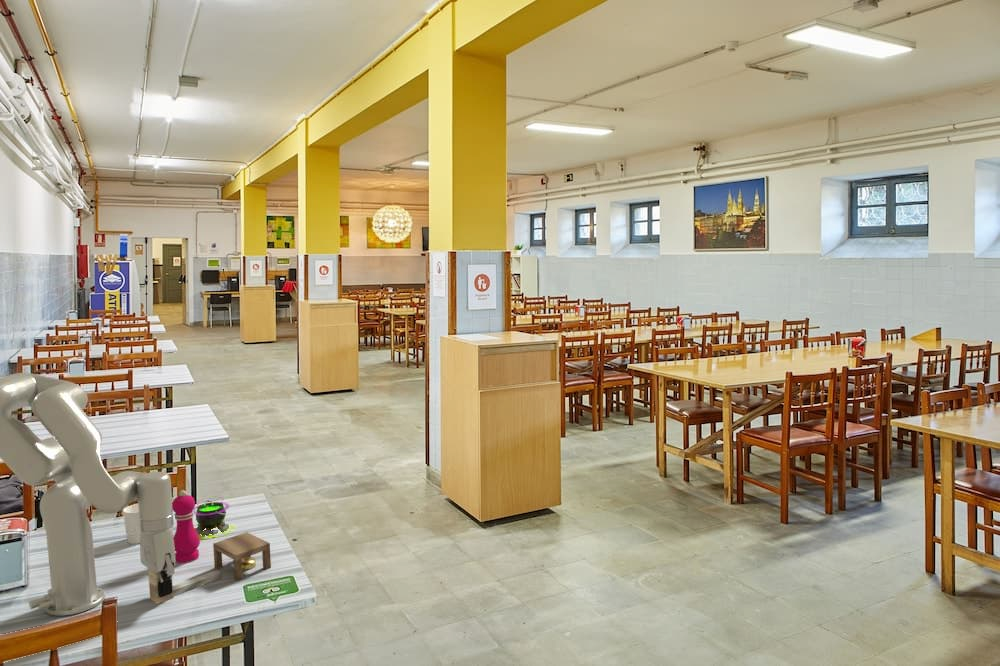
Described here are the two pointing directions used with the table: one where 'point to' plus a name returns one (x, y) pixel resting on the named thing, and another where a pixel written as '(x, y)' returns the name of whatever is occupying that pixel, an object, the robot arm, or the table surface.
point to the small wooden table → (241, 551)
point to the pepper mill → (185, 529)
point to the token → (248, 563)
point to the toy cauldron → (211, 519)
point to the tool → (180, 587)
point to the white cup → (132, 523)
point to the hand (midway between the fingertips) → (161, 591)
